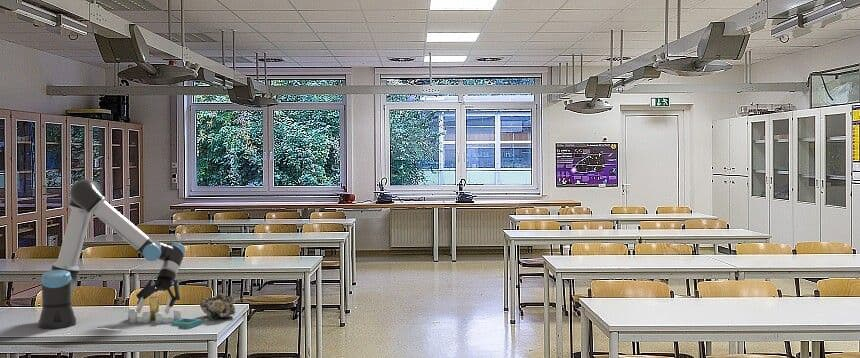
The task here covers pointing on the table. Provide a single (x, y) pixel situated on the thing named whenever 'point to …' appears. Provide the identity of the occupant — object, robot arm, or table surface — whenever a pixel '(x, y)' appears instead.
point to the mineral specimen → (218, 306)
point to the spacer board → (165, 321)
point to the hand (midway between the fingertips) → (152, 311)
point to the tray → (187, 325)
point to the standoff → (154, 307)
